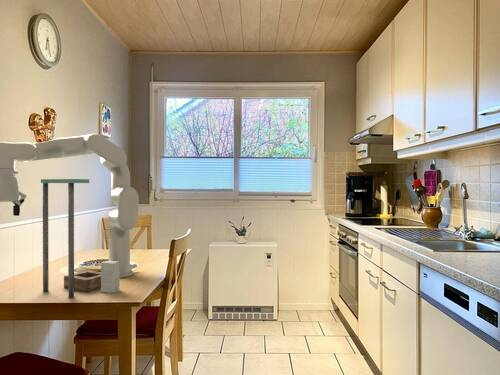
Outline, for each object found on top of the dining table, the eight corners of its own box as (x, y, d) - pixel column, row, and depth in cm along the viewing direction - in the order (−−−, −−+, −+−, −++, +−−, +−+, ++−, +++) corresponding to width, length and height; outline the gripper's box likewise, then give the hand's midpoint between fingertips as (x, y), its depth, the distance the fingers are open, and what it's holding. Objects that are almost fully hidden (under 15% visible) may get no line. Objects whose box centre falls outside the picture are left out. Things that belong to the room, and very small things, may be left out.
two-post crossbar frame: (59, 286, 159) (59, 179, 158) (89, 293, 150) (89, 179, 149) (41, 291, 152) (40, 179, 151) (71, 298, 143) (71, 179, 142)
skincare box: (120, 290, 154) (119, 261, 154) (114, 293, 150) (113, 263, 150) (106, 289, 155) (106, 260, 155) (100, 292, 151) (100, 262, 151)
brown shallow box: (88, 281, 168) (88, 270, 168) (110, 285, 161) (110, 273, 161) (63, 287, 157) (63, 276, 157) (86, 292, 151) (86, 280, 151)
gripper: (20, 174, 158) (20, 214, 158) (-26, 172, 143) (-26, 217, 143) (30, 173, 154) (31, 215, 154) (-16, 172, 139) (-15, 218, 139)
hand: (3, 216), depth 149 cm, fingers open, 9 cm apart
